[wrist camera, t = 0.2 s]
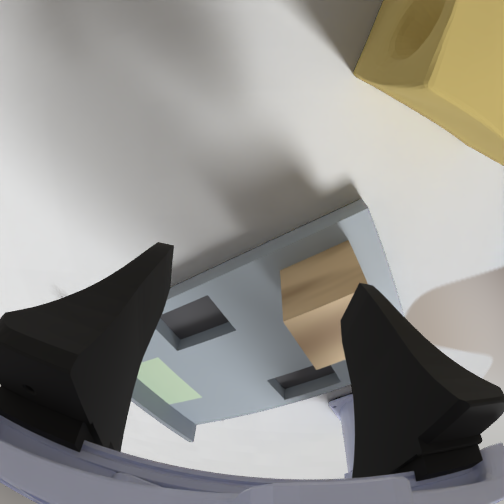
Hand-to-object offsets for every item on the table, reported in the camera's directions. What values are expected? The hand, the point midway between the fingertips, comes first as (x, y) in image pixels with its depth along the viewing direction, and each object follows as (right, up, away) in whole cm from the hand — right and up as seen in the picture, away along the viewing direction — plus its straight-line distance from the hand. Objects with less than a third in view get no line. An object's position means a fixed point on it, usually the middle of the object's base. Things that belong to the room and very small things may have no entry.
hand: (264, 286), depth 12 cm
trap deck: (0, -7, +16) cm, 17 cm away
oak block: (+5, -1, +10) cm, 11 cm away
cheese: (+12, +14, +3) cm, 19 cm away
